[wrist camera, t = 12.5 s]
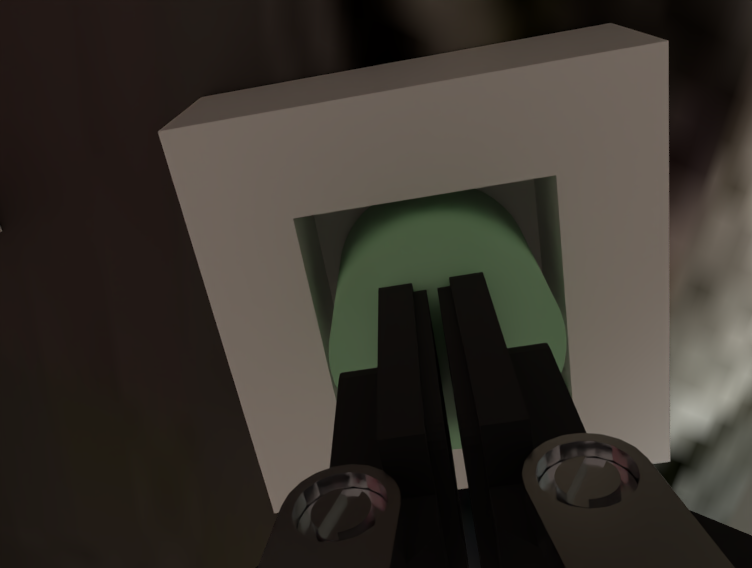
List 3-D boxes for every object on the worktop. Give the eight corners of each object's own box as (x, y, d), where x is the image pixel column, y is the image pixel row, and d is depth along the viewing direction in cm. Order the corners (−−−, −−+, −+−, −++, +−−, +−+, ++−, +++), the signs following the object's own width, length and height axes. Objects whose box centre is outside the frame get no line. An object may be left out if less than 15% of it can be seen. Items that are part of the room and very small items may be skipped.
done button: (520, 165, 13) (558, 224, 10) (536, 340, 15) (573, 433, 12) (322, 199, 14) (306, 265, 11) (358, 366, 15) (352, 463, 12)
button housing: (611, 22, 13) (668, 41, 11) (623, 378, 17) (670, 461, 14) (201, 96, 14) (157, 131, 11) (291, 425, 17) (274, 513, 15)
